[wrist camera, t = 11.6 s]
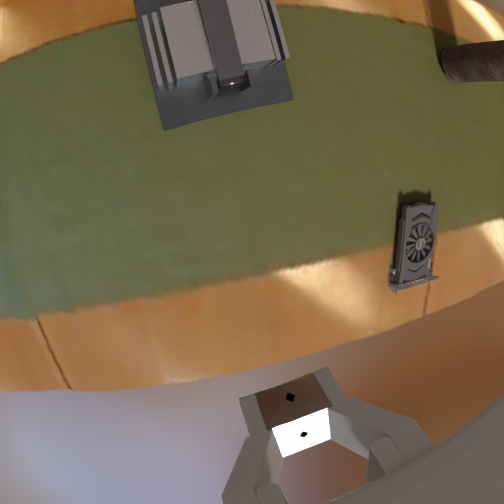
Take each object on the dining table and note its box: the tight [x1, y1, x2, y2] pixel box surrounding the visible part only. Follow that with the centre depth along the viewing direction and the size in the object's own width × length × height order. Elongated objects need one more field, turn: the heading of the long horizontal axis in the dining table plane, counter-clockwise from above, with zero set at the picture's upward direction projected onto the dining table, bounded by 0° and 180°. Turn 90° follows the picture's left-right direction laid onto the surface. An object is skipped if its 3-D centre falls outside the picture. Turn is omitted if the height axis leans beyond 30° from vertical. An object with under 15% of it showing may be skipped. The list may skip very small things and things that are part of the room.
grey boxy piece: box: [134, 0, 294, 131], centre depth 32 cm, size 18×20×10 cm
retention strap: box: [199, 0, 247, 89], centre depth 30 cm, size 15×3×1 cm, turn 13°
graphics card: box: [388, 202, 439, 295], centre depth 55 cm, size 17×4×12 cm
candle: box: [441, 40, 504, 83], centre depth 35 cm, size 8×7×20 cm
